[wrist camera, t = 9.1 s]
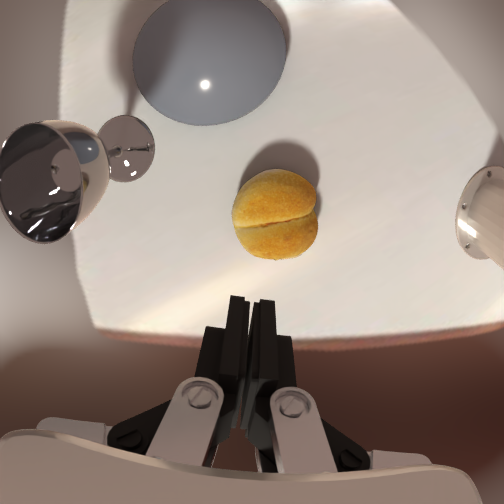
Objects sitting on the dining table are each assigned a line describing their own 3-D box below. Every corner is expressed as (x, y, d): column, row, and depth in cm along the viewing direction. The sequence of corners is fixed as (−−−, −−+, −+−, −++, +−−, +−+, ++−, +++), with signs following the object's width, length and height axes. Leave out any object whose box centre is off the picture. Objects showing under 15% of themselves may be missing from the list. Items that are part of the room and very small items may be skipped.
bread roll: (311, 162, 29) (320, 172, 25) (316, 245, 33) (324, 263, 29) (225, 173, 29) (222, 183, 26) (239, 255, 33) (238, 274, 30)
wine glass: (116, 199, 31) (35, 263, 18) (79, 142, 28) (-19, 175, 15) (173, 158, 29) (105, 202, 16) (132, 96, 27) (40, 95, 13)
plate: (292, 1, 22) (294, -5, 20) (273, 133, 28) (274, 134, 26) (151, -5, 22) (145, -11, 20) (133, 121, 28) (125, 122, 26)
